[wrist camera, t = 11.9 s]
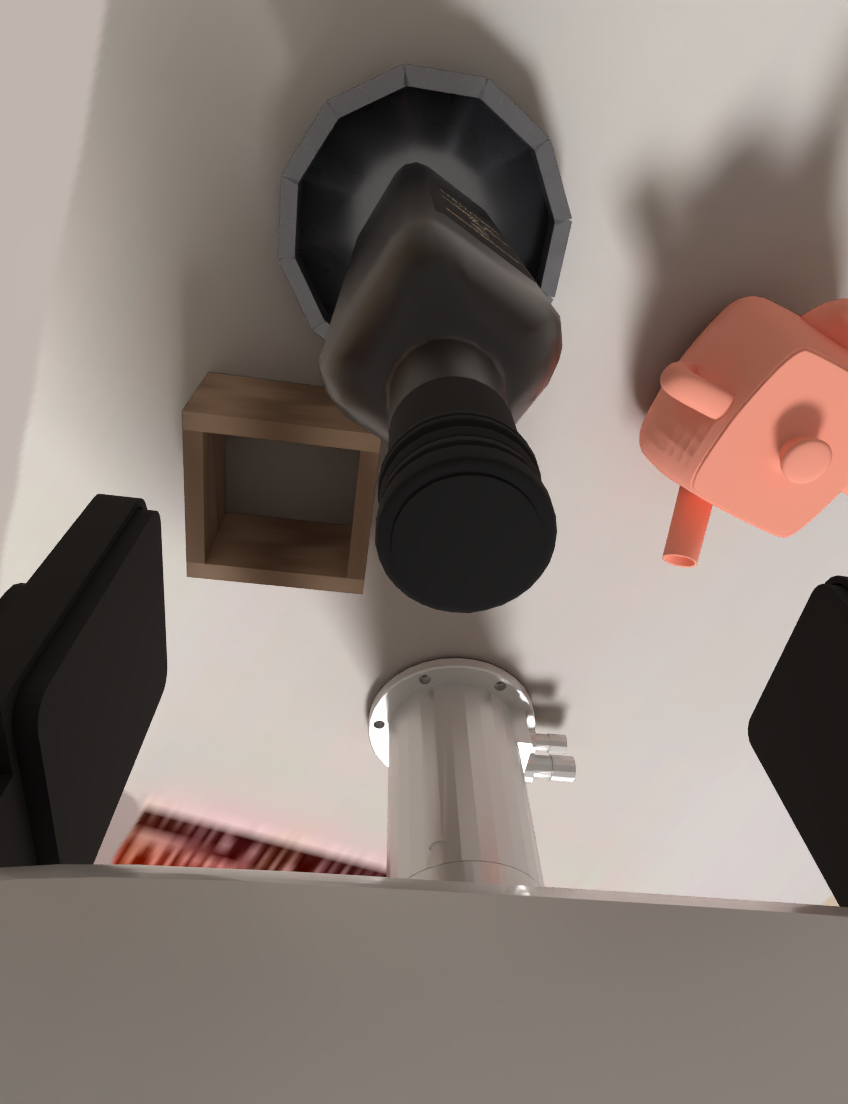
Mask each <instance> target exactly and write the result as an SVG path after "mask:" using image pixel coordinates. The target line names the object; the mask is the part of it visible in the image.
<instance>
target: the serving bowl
mask: <svg viewBox="0 0 848 1104" xmlns="http://www.w3.org/2000/svg"><path fill="white" fill-rule="evenodd" d="M548 137H549V136H548V135H547V134H546V133H544V132H543V131H542V130H541V129H540V128H539V127H538V126H537V125H536V124H535V123H534V122H533V121H532V120H531V119H530V118H529V117H528V116H527V115H526V114H525V113H524V112H523V111H522V110H521V109H520V108H519V107H518V106H517V105H516V104H515V103H513V102H512V101H511V100H510V99H509V98H508V97H507V96H506V95H505V94H504V93H503V92H502V91H501V90H500V89H499V88H498V87H497V86H496V85H495V84H494V83H493V82H492V81H491V80H490V79H487V80H486V78H485V77H480V76H474V75H468V74H462V73H456V72H450V71H444V70H438V69H433V68H427V67H421V66H415V65H409V64H406V65H405V71H404V68H403V65H400V66H398V67H396V68H394V69H392V70H390V71H388V72H386V73H383V74H381V75H379V76H377V77H375V78H373V79H371V80H369V81H367V82H365V83H363V84H361V85H359V86H357V87H355V88H352V89H350V90H348V91H346V92H344V93H342V94H340V95H338V96H336V97H334V98H332V99H330V100H328V102H327V103H325V104H324V106H323V107H322V109H321V111H320V112H319V114H318V116H317V117H316V119H315V121H314V122H313V124H312V125H311V127H310V129H309V130H308V132H307V134H306V135H305V137H304V138H303V140H302V142H301V143H300V145H299V147H298V148H297V150H296V152H295V153H294V155H293V156H292V158H291V160H290V161H289V163H288V165H287V166H286V168H285V170H284V171H283V173H282V174H283V176H282V177H281V190H280V218H279V245H278V258H280V260H279V263H280V265H281V267H282V269H283V271H284V273H285V275H286V277H287V279H288V281H289V283H290V286H291V288H292V290H293V292H294V294H295V296H296V298H297V300H298V302H299V304H300V306H301V308H302V311H303V313H304V315H305V317H306V319H307V321H308V323H309V325H310V327H311V329H313V328H314V332H315V333H316V334H318V335H319V336H320V337H322V338H323V339H324V340H325V338H326V335H327V332H328V329H329V326H330V323H331V319H332V316H333V313H334V310H335V307H336V304H337V300H338V297H339V294H340V291H341V288H342V285H343V281H344V278H345V275H346V272H347V269H348V266H349V262H350V259H351V256H352V253H353V250H354V247H355V243H356V240H357V237H358V235H359V233H360V232H361V230H362V228H363V227H364V225H365V223H366V222H367V220H368V218H369V217H370V215H371V213H372V212H373V210H374V208H375V207H376V205H377V203H378V202H379V200H380V198H381V197H382V195H383V193H384V192H385V190H386V188H387V187H388V185H389V183H390V182H391V180H392V178H393V176H394V175H395V173H396V172H397V171H398V170H399V169H400V168H401V167H402V166H403V165H404V164H409V163H414V162H418V163H421V164H423V165H426V166H428V167H430V168H431V169H432V170H433V171H435V172H436V173H437V174H439V175H440V176H441V177H442V178H444V179H445V180H446V181H448V182H449V183H450V184H451V185H453V186H454V187H455V188H457V189H458V190H459V191H461V192H462V193H463V194H464V195H466V196H467V197H468V198H470V199H471V200H472V201H473V202H475V203H476V204H477V205H479V206H480V207H481V208H482V209H484V210H485V211H486V212H487V214H488V215H489V217H490V218H491V219H492V221H493V222H494V223H495V225H496V226H497V228H498V229H499V231H500V232H501V233H502V235H503V236H504V238H505V239H506V241H507V242H508V243H509V245H510V246H511V248H512V249H513V250H514V252H515V253H516V255H517V256H518V258H519V259H520V260H521V262H522V263H523V265H524V266H525V268H526V269H527V270H528V272H529V273H530V275H531V276H532V277H533V279H534V280H535V282H536V283H537V285H538V286H539V287H540V289H541V290H542V292H543V293H544V295H545V296H546V297H547V299H548V300H549V302H550V303H551V302H552V301H553V299H552V298H551V297H555V294H556V289H557V285H558V280H559V276H560V271H561V267H562V263H563V258H564V254H565V249H566V245H567V241H568V236H569V232H570V227H571V223H572V221H571V220H569V219H571V218H572V217H571V213H570V210H569V206H568V202H567V199H566V195H565V191H564V188H563V184H562V180H561V177H560V173H559V169H558V166H557V162H556V158H555V155H554V151H553V147H552V144H551V140H550V139H547V138H548Z"/></svg>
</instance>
